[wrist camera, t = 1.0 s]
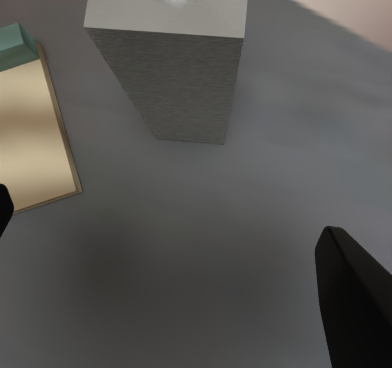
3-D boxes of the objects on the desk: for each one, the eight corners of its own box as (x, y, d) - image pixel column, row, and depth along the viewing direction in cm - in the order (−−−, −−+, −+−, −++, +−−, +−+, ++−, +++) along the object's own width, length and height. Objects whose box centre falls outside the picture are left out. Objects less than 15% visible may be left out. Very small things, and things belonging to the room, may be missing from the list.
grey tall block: (223, 144, 22) (246, 25, 8) (156, 138, 22) (75, 13, 9) (229, 80, 23) (260, -128, 9) (164, 75, 23) (98, -135, 9)
